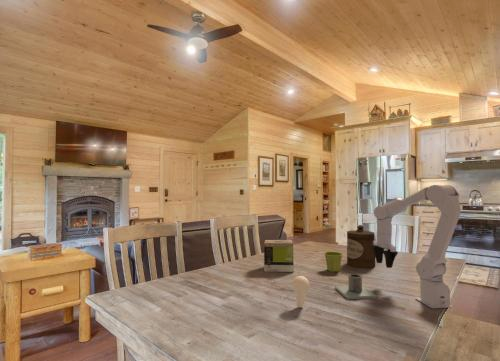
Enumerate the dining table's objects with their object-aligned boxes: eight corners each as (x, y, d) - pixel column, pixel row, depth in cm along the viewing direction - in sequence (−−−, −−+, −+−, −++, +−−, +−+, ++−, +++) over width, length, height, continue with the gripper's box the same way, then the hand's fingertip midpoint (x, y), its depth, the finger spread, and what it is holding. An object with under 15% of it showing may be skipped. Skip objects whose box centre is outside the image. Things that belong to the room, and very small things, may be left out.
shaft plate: (377, 298, 114) (377, 287, 114) (347, 299, 113) (347, 288, 113) (362, 287, 126) (362, 278, 126) (335, 288, 125) (335, 279, 125)
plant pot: (339, 274, 146) (338, 256, 146) (321, 270, 152) (321, 253, 152) (345, 270, 153) (345, 253, 154) (328, 267, 159) (328, 250, 159)
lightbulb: (297, 302, 109) (297, 272, 109) (312, 307, 105) (312, 276, 105) (288, 307, 104) (288, 276, 105) (304, 312, 100) (304, 280, 101)
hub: (364, 292, 117) (364, 277, 117) (352, 293, 117) (352, 277, 117) (358, 288, 122) (358, 273, 122) (346, 288, 122) (346, 274, 122)
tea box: (292, 267, 158) (292, 239, 158) (293, 272, 148) (293, 243, 148) (264, 266, 159) (264, 239, 160) (263, 271, 149) (263, 242, 150)
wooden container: (341, 262, 169) (341, 224, 170) (363, 260, 174) (363, 223, 174) (358, 269, 155) (358, 227, 156) (381, 267, 160) (381, 226, 160)
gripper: (366, 231, 134) (366, 261, 134) (384, 236, 120) (384, 269, 119) (381, 231, 135) (381, 260, 135) (400, 236, 121) (401, 269, 120)
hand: (384, 265), depth 127 cm, fingers open, 7 cm apart
